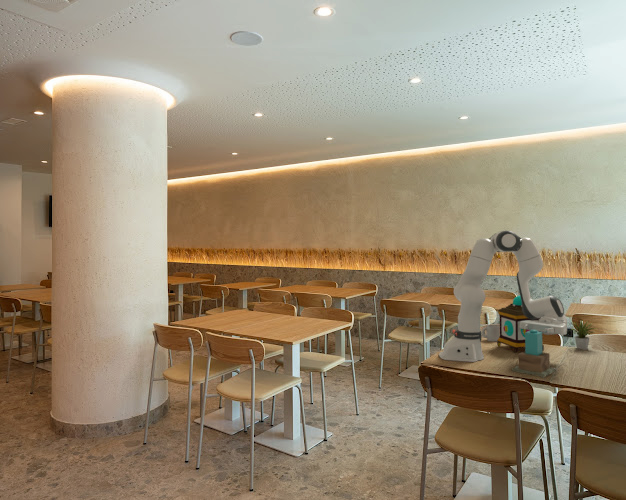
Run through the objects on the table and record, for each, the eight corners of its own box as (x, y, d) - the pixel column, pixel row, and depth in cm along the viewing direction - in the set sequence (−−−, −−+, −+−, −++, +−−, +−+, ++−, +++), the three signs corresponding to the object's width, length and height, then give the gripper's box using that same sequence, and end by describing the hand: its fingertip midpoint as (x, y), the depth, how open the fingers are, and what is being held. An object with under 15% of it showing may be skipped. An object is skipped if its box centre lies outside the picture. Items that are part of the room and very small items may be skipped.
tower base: (543, 377, 200) (543, 359, 200) (512, 370, 210) (512, 353, 210) (555, 370, 209) (555, 353, 209) (525, 364, 219) (525, 348, 219)
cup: (499, 342, 267) (499, 327, 266) (482, 341, 270) (481, 326, 270) (499, 339, 273) (499, 325, 273) (481, 338, 277) (481, 324, 276)
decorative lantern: (493, 345, 258) (492, 294, 257) (523, 343, 262) (523, 292, 261) (515, 354, 238) (515, 298, 238) (548, 352, 242) (547, 297, 241)
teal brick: (537, 355, 206) (537, 332, 205) (525, 353, 210) (525, 330, 209) (542, 353, 209) (542, 330, 209) (530, 351, 213) (530, 328, 213)
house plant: (584, 353, 238) (584, 322, 238) (561, 347, 251) (561, 318, 250) (602, 350, 244) (602, 320, 243) (578, 344, 256) (578, 316, 256)
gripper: (526, 316, 228) (514, 319, 219) (570, 321, 212) (558, 325, 203) (526, 328, 228) (514, 332, 219) (570, 334, 213) (558, 339, 203)
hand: (536, 329), depth 211 cm, fingers open, 8 cm apart
